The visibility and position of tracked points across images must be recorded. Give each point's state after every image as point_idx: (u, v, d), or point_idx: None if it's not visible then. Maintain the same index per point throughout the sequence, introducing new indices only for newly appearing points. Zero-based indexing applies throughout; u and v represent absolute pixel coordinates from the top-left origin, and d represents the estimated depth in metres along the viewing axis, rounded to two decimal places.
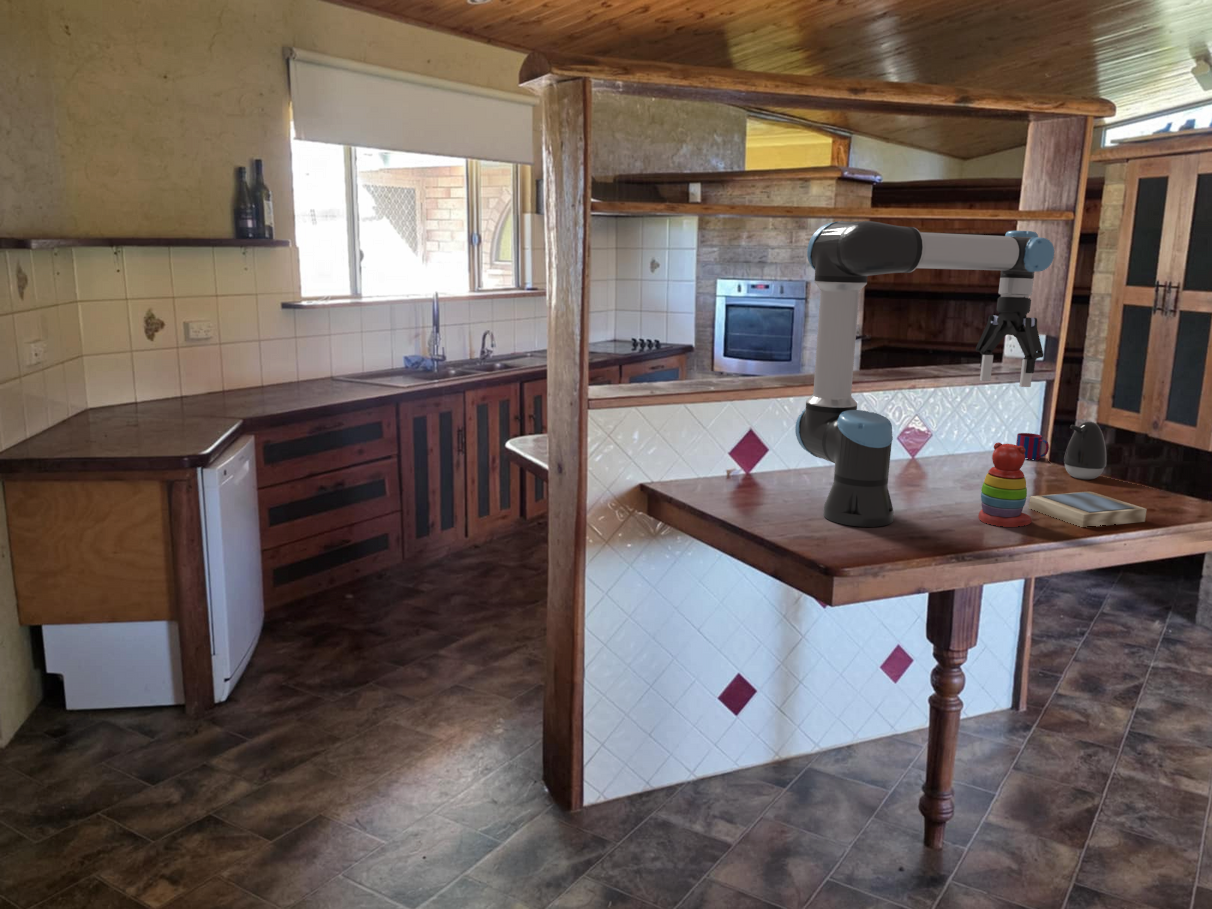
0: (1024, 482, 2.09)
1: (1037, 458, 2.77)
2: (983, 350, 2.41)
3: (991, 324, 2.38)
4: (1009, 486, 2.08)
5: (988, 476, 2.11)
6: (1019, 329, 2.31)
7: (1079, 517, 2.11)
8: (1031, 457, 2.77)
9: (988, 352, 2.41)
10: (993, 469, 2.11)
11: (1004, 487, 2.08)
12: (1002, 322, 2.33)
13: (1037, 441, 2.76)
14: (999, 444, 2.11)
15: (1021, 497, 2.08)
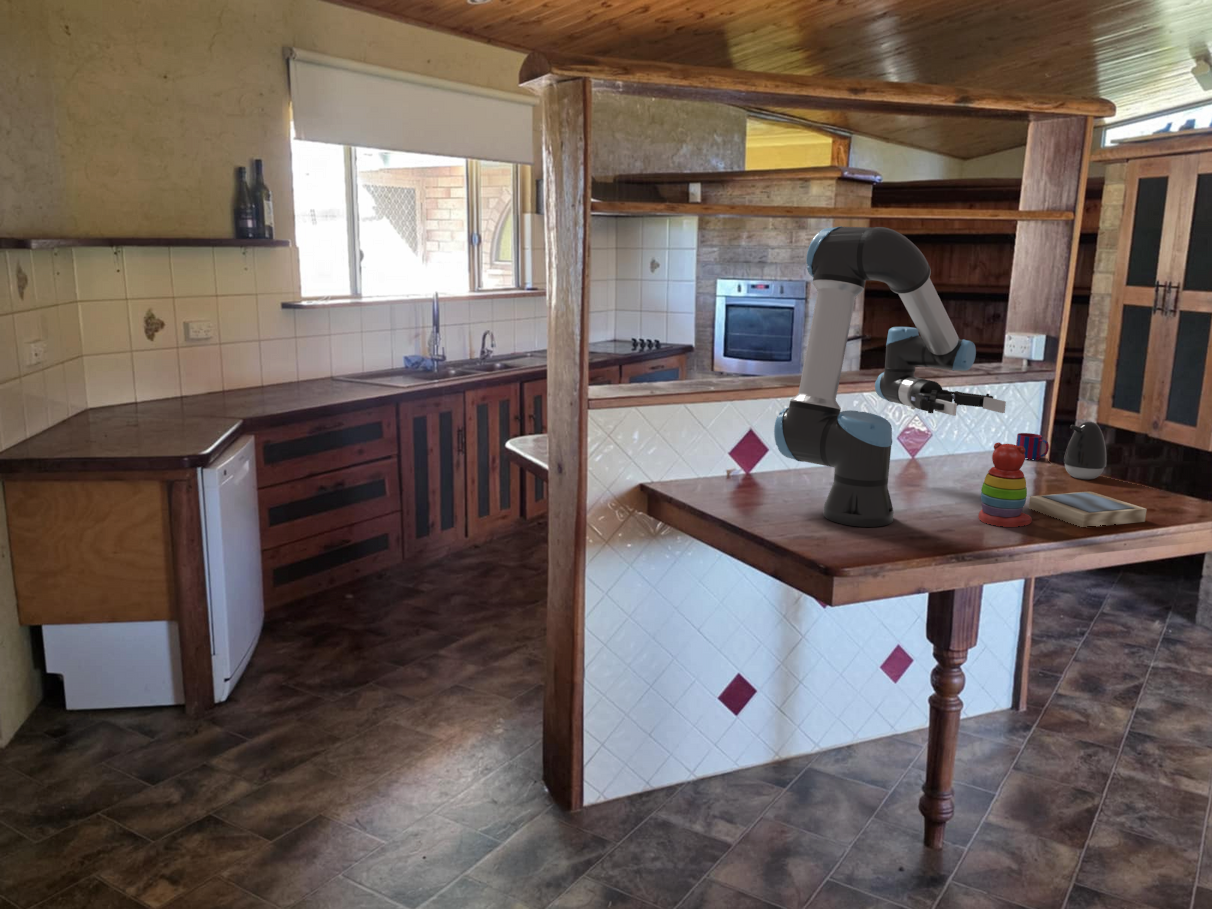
0: (1024, 482, 2.09)
1: (1037, 458, 2.77)
2: (932, 399, 2.23)
3: None
4: (1009, 486, 2.08)
5: (988, 476, 2.11)
6: None
7: (1079, 517, 2.11)
8: (1031, 457, 2.77)
9: None
10: (993, 469, 2.11)
11: (1004, 487, 2.08)
12: (935, 390, 2.32)
13: (1037, 441, 2.76)
14: (999, 444, 2.11)
15: (1021, 497, 2.08)
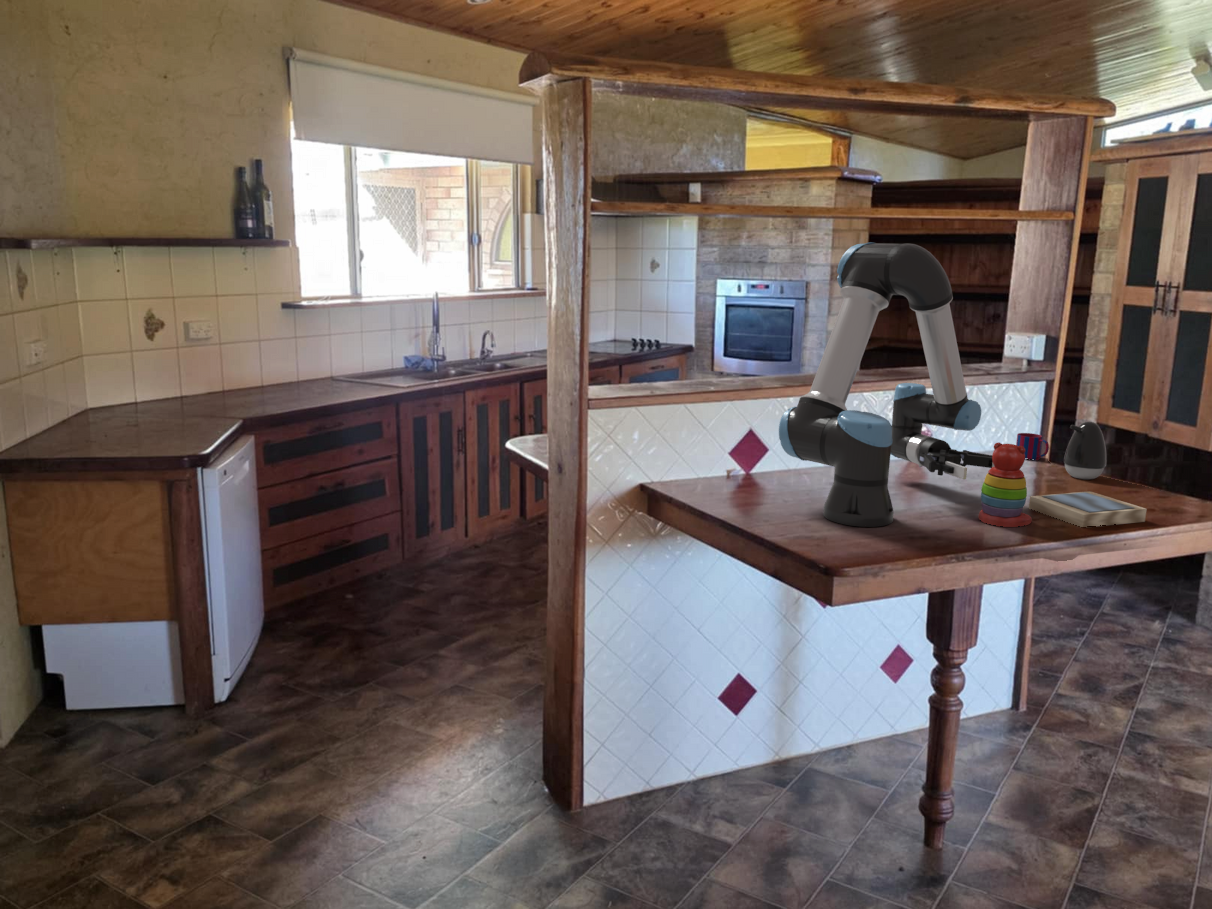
0: (1024, 482, 2.09)
1: (1037, 458, 2.77)
2: (942, 461, 2.22)
3: None
4: (1009, 486, 2.08)
5: (988, 476, 2.11)
6: None
7: (1079, 517, 2.11)
8: (1031, 457, 2.77)
9: None
10: (993, 469, 2.11)
11: (1004, 487, 2.08)
12: (944, 450, 2.31)
13: (1037, 441, 2.76)
14: (999, 444, 2.11)
15: (1021, 497, 2.08)
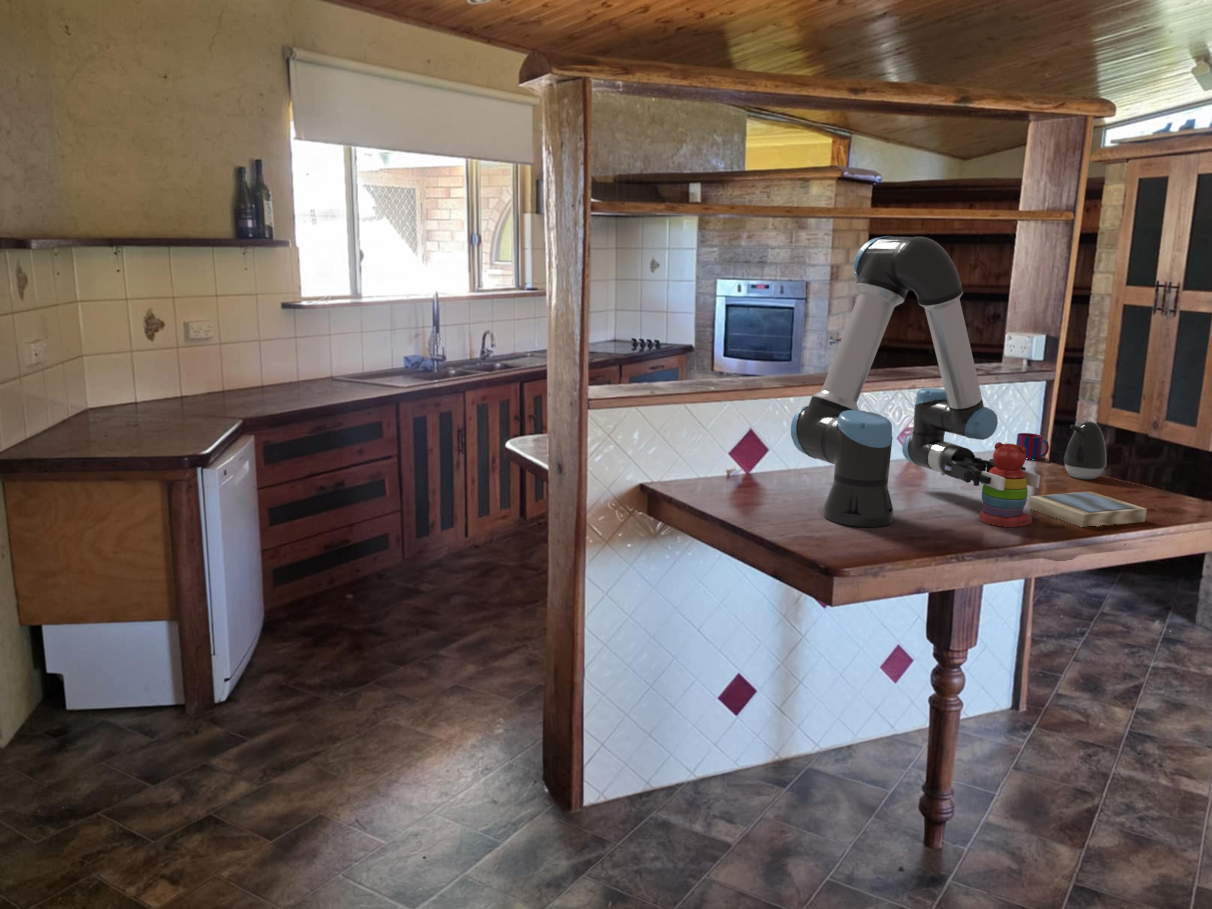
0: (1025, 481, 2.09)
1: (1037, 458, 2.77)
2: (977, 470, 2.13)
3: None
4: (1010, 486, 2.08)
5: None
6: None
7: (1079, 517, 2.11)
8: (1031, 457, 2.77)
9: None
10: (994, 469, 2.11)
11: (1005, 487, 2.08)
12: (967, 458, 2.22)
13: (1037, 441, 2.76)
14: (1000, 444, 2.11)
15: (1022, 497, 2.08)
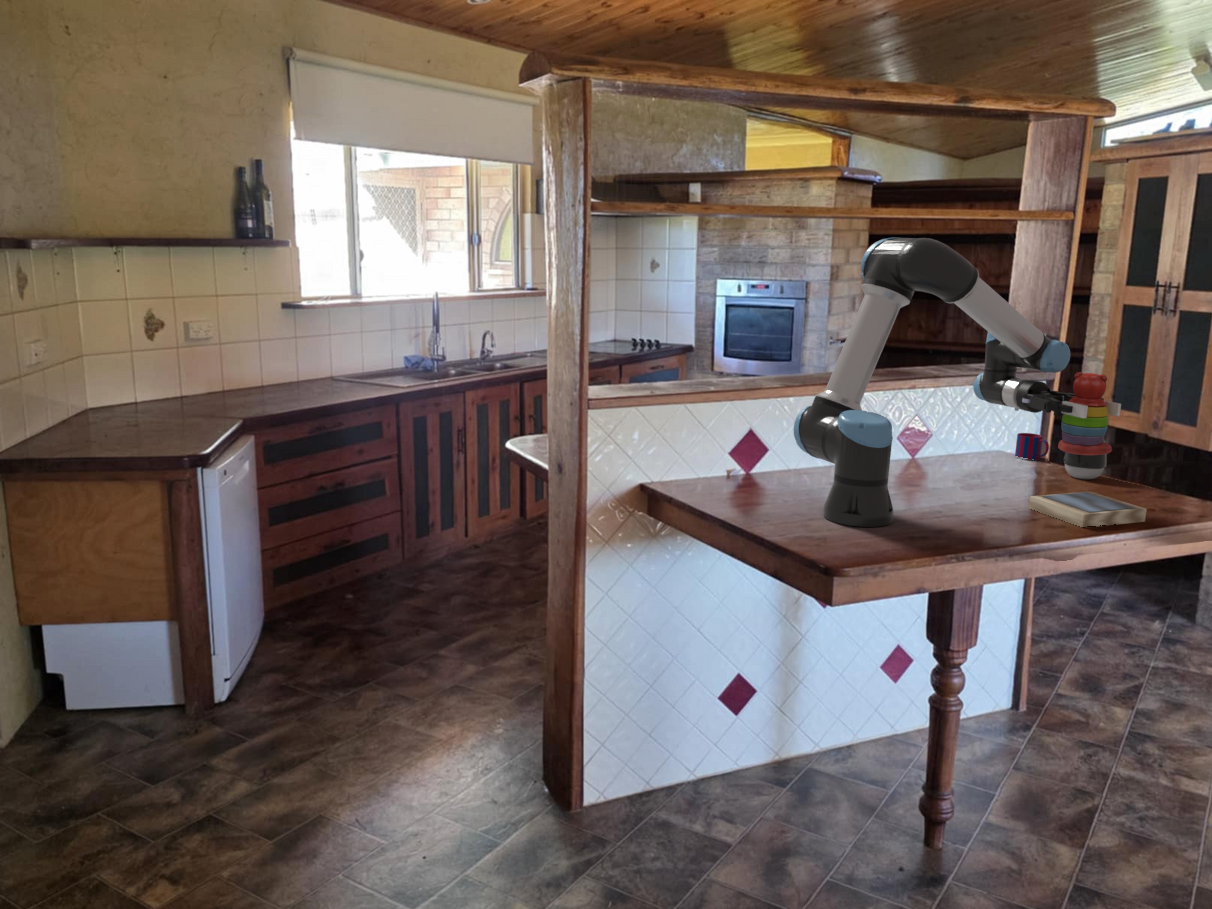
0: (1106, 410, 2.11)
1: (1037, 458, 2.77)
2: (1057, 401, 2.15)
3: None
4: (1092, 414, 2.10)
5: None
6: None
7: (1079, 517, 2.11)
8: (1031, 457, 2.77)
9: None
10: (1074, 398, 2.14)
11: None
12: (1044, 391, 2.24)
13: (1037, 441, 2.76)
14: (1080, 373, 2.13)
15: (1103, 425, 2.11)
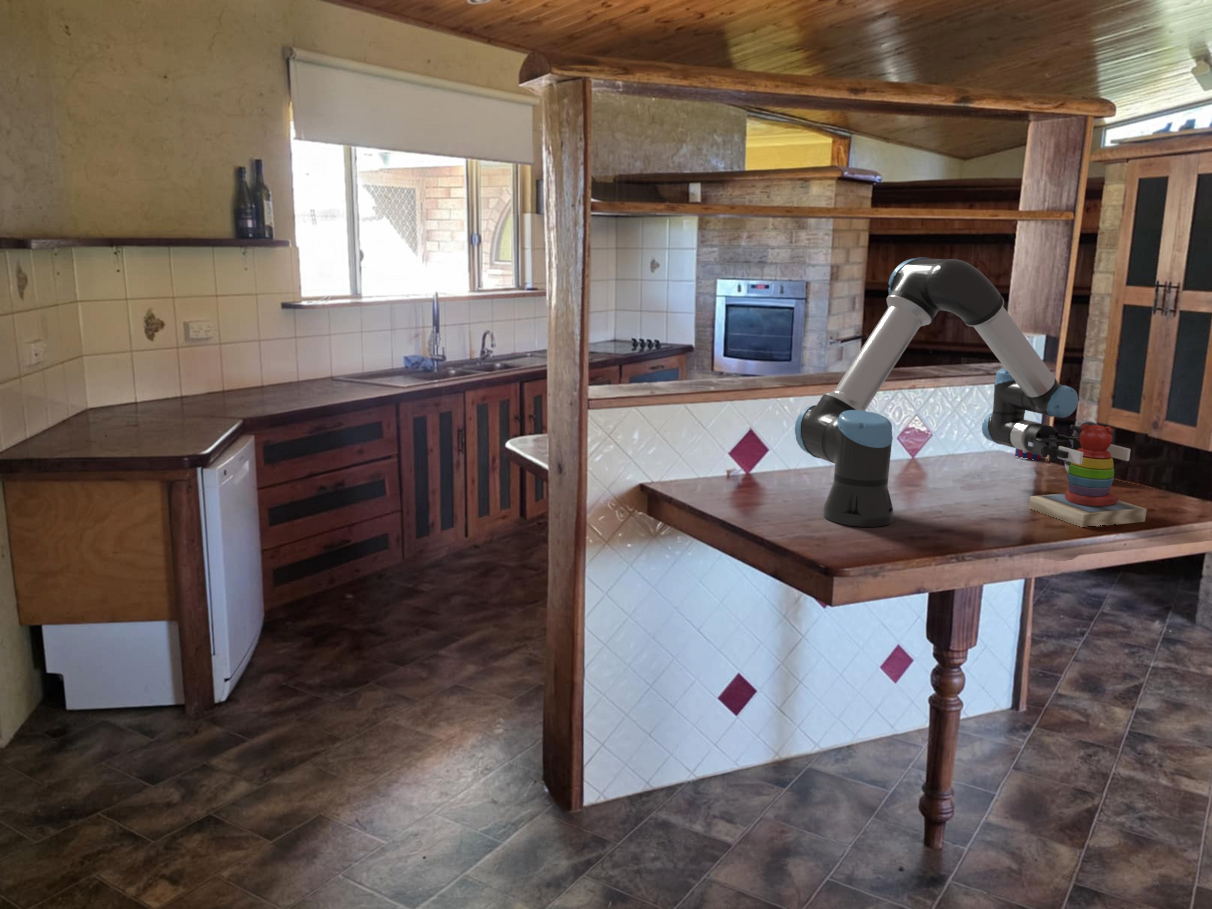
0: (1112, 462, 2.15)
1: (1037, 458, 2.77)
2: (1054, 446, 2.19)
3: None
4: (1098, 466, 2.14)
5: None
6: None
7: (1079, 517, 2.11)
8: (1031, 457, 2.77)
9: None
10: (1081, 450, 2.17)
11: (1093, 467, 2.14)
12: (1052, 435, 2.27)
13: None
14: (1086, 425, 2.17)
15: (1109, 476, 2.14)
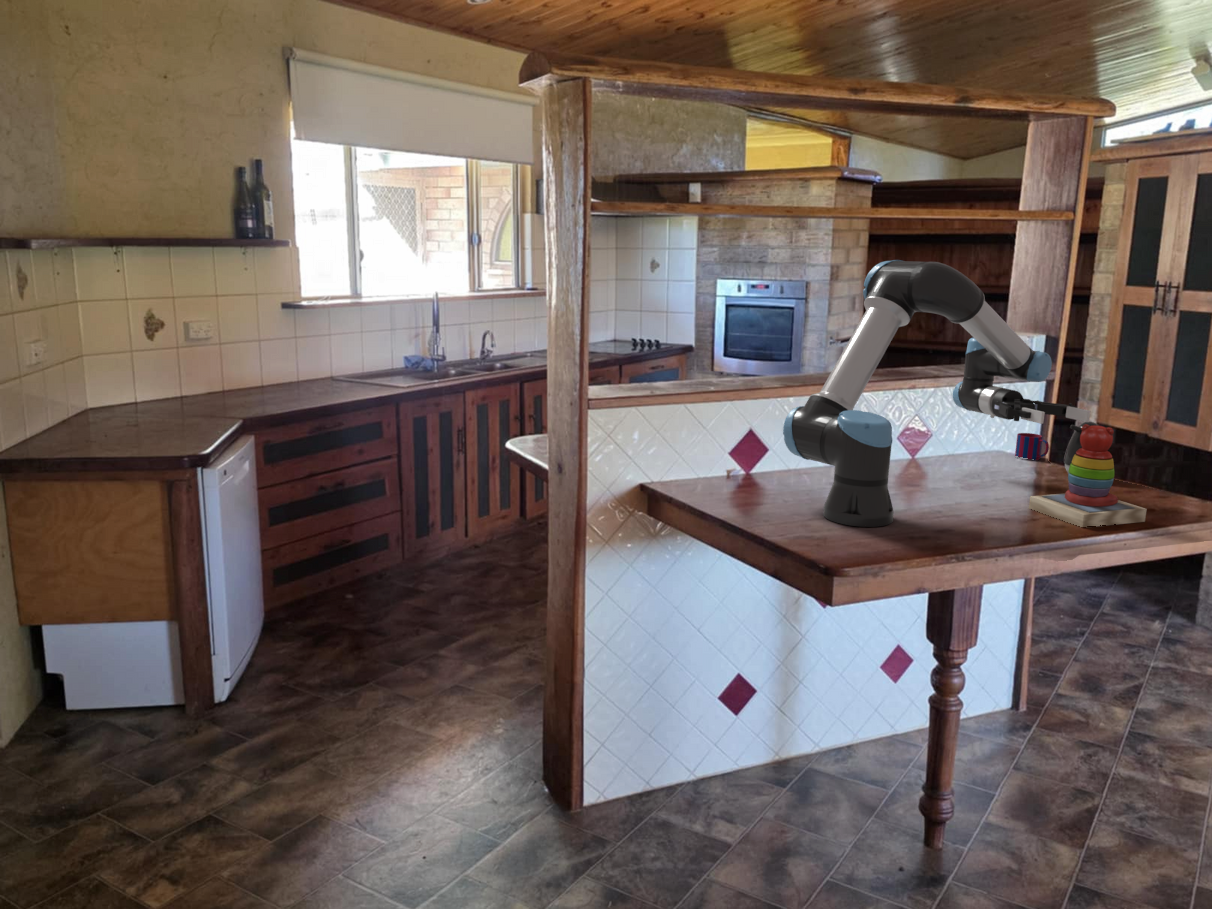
0: (1112, 462, 2.15)
1: (1037, 458, 2.77)
2: None
3: None
4: (1098, 466, 2.13)
5: (1076, 457, 2.17)
6: None
7: (1079, 517, 2.11)
8: (1031, 457, 2.77)
9: None
10: (1081, 450, 2.17)
11: (1093, 468, 2.14)
12: (1018, 399, 2.38)
13: (1037, 441, 2.76)
14: (1087, 426, 2.16)
15: (1110, 477, 2.14)
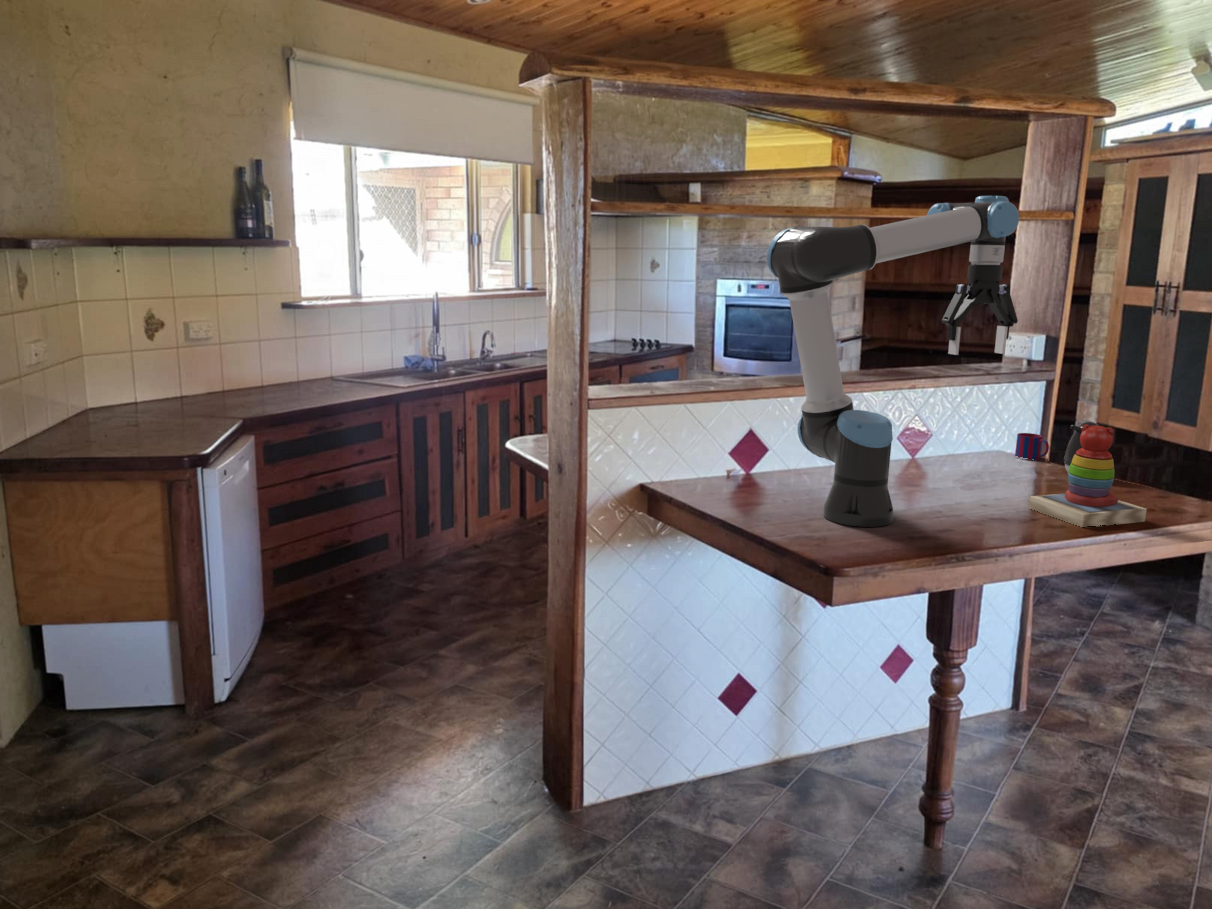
0: (1112, 462, 2.15)
1: (1037, 458, 2.77)
2: None
3: (1000, 293, 2.30)
4: (1098, 466, 2.13)
5: (1076, 457, 2.17)
6: (971, 297, 2.27)
7: (1079, 517, 2.11)
8: (1031, 457, 2.77)
9: (1004, 323, 2.31)
10: (1081, 450, 2.17)
11: (1093, 468, 2.14)
12: None
13: (1037, 441, 2.76)
14: (1087, 426, 2.16)
15: (1110, 477, 2.14)
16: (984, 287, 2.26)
